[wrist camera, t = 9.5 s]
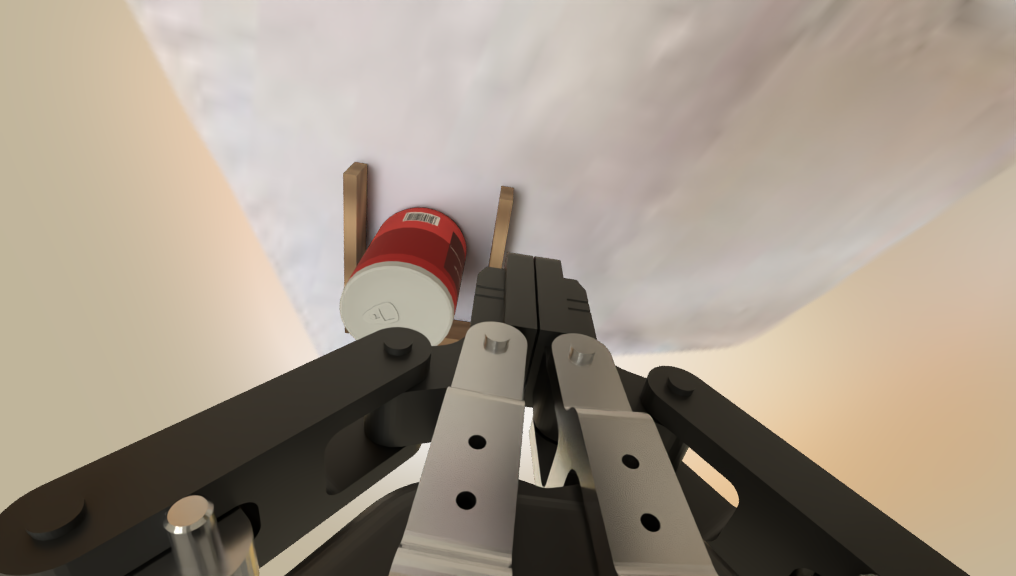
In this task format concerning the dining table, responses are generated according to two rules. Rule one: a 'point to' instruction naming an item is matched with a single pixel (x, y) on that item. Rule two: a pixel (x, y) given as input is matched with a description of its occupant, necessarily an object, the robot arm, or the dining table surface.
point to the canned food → (407, 277)
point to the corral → (357, 232)
